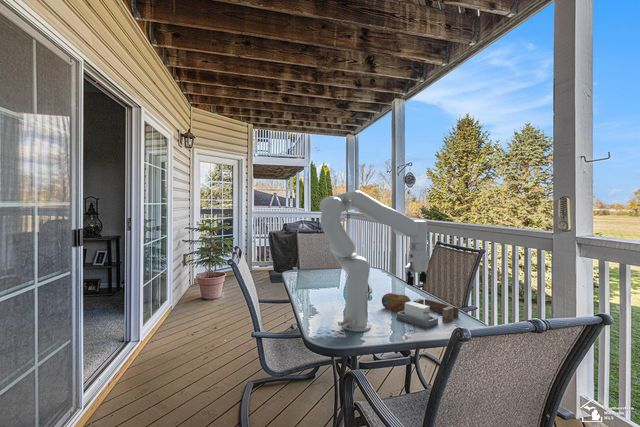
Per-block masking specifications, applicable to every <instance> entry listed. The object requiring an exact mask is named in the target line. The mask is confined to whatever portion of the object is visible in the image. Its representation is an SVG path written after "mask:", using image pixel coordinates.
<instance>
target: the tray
mask: <svg viewBox="0 0 640 427" xmlns="http://www.w3.org/2000/svg"><path fill="white" fill-rule="evenodd" d="M396 320H398V321H401V322H403V323H407V324H409V325H412V326H415V327H418V328H420V329H424V330H428V329H431V328H433V327H435V326H438V325H439V318H438V317H436V316H433V315H431V314H429V321H426V322H425V321H422V320H419V319H416V318H413V317H410V316H407V315H405V310H404V311H397V312H396Z"/></svg>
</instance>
